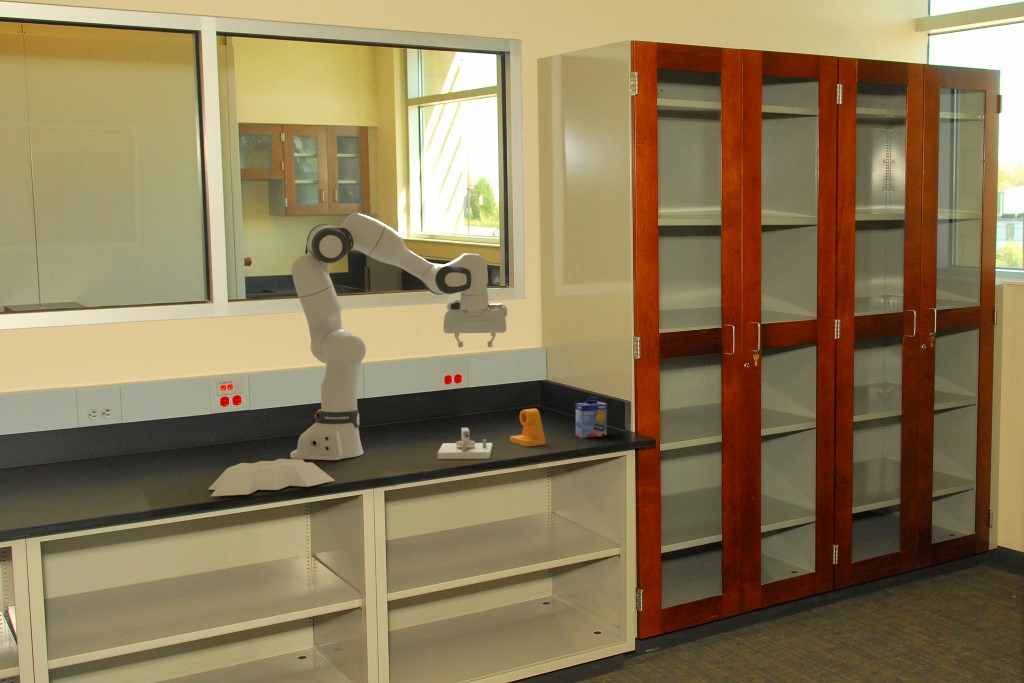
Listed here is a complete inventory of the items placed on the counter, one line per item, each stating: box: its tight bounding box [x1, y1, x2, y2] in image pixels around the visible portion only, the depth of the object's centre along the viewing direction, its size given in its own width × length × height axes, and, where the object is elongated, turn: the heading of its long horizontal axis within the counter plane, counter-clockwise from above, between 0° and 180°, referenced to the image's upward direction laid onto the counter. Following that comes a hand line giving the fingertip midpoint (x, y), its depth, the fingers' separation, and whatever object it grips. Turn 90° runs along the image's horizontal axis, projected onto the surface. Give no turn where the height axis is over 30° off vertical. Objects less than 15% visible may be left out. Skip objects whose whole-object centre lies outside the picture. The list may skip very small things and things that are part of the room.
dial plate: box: [437, 438, 493, 460], centre depth 324 cm, size 16×16×4 cm
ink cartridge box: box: [575, 396, 608, 439], centre depth 348 cm, size 10×6×14 cm, turn 113°
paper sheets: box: [207, 458, 336, 497], centre depth 288 cm, size 35×20×6 cm, turn 120°
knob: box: [455, 427, 476, 448], centre depth 322 cm, size 10×6×6 cm, turn 7°
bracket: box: [509, 408, 546, 447], centre depth 337 cm, size 11×7×12 cm, turn 32°
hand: (475, 347), depth 329 cm, fingers open, 8 cm apart
